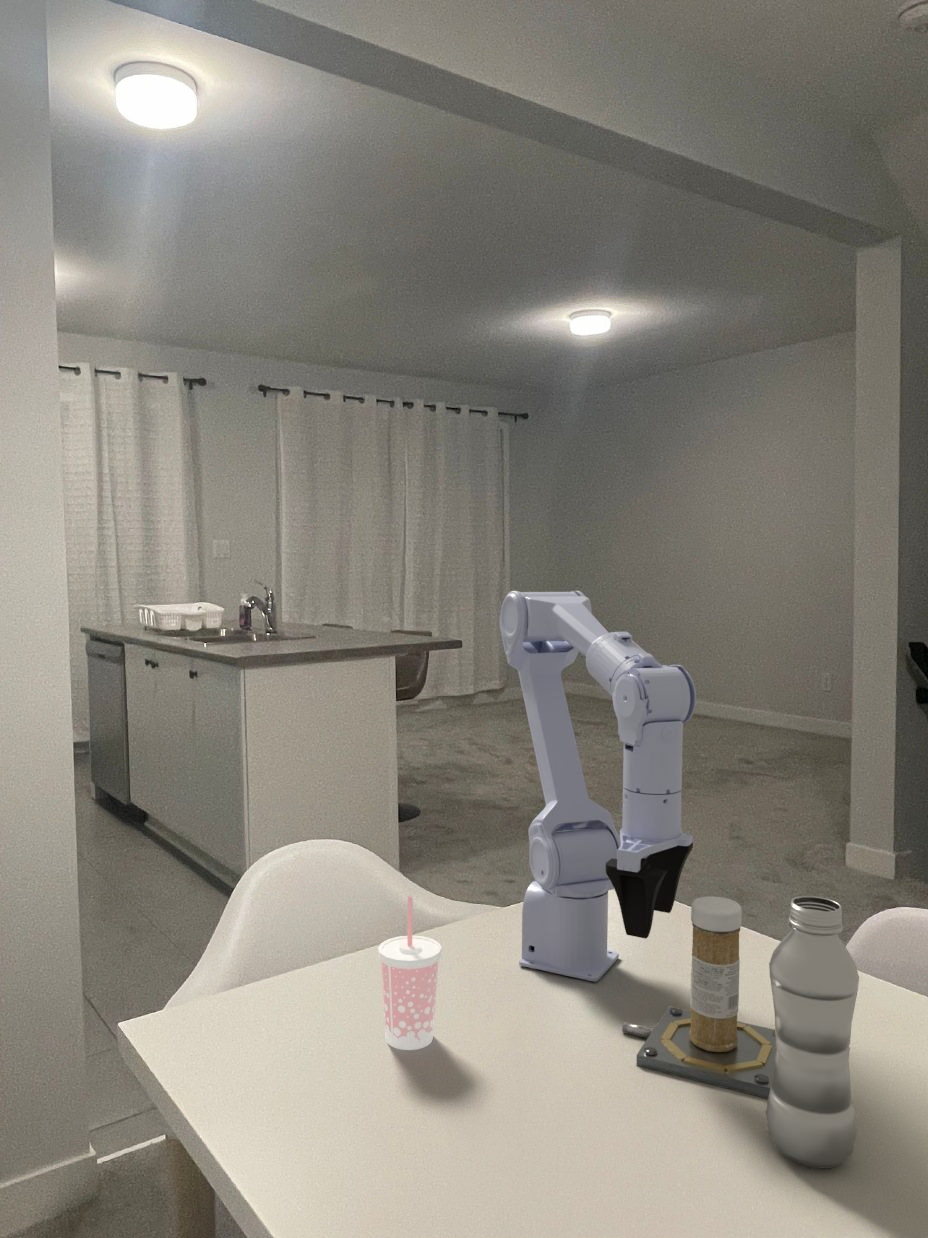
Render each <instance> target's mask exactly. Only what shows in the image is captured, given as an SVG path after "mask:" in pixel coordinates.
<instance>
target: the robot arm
mask: <svg viewBox="0 0 928 1238" xmlns="http://www.w3.org/2000/svg"><path fill="white" fill-rule="evenodd" d="M591 603H592V602H591V600H590V598H589V597H587V596H585V594H584V593H583V592H582V591H581V590H571V591H523V592H522V591H519V590H511V591H509V592H508V593H507V595H506V596H505V598H504V599H503V601H502V604H501V609H500V614H499V615H500V616H499V630H500V635H501V640H502V645H503V649H504V653H505V656H506V661H507V665H508V666H510V667H512V668H514V669H515V670H517V673H518V678H519V681H520V688H521V692H522V697H523V701H524V705H525V706H524V707H525V711H526V717H527V721H528V726H529V730H530V735H531V740H532V743H533V744H532V745H533V749H534V750H533V751H534V754H535V759H536V760H535V761H536V764H537V769H538V773H539V779H540V783H541V788H542V793H543V797H544V802H545V807H544V808H543V809H542V810H541V811H540V812H539V814H538V815H536V817H535V818H534V819H533V820H532V822H531V823H530V825H529V827H528V841H529V853H528V858H529V859H528V860H529V867H530V870H531V874H532V876H533V878H534V881H532V882H531V883H530V884H529V886H528V887H527V889H526V891H525V895H524V898H523V903H522V913H521V914H522V915H521V917H522V918H521V959H520V960H519V962H518V965H519V966H522V967H527V968H530V969H535V970H540V971H543V972H548V973H553V974H556V975H557V974H558V975H563V976H567V977H572V978H576V979H581V980H585V981H589V982H598V981H599V980H600V979H601V978H602V977H603V975H605V973H606V972H607V971H608V970H609V969H610V968H611V966H612V965H614V963H615V962H616V961H617V960H618V958H619V955H620V954H619V952H616V951H613V950H612V951H611V950H608V928H609V926H608V925H609V921H608V920H609V919H608V918H609V917H608V915H609V891H611V890H614V891H615V894H616V896H617V900H618V904H619V909H620V912H621V916H622V921H623V926H624V930H625V935H626V936H631V937H635V938H642V939H648V938H649V936H650V933H651V930H652V926H653V920H654V915H655V913H654V912H655V911H656V912H660V913H667V914H670V913H671V912H672V909H673V907H674V904H675V899H676V895H677V890H678V886H679V882H680V877H681V874H682V872H683V869H684V865H685V864H686V862H687V861H686V860H687V859H688V857H689V855H690V853H691V852H692V850H693V848H694V843H693V840H694V839H693V838H694V837H693V835H692V834H688V833H684V832H683V830H682V792H683V791H682V789H683V788H682V785H683V783H682V782H683V746H684V745H683V742H684V741H683V739H684V737H683V735H684V734H683V733H684V724H685V723H687V722H688V721H690V720H691V718H692V717H693V715H694V713H695V709H696V706H697V705H696V704H697V691H696V687H695V683H694V680H693V677H692V676H691V674H690V673H689V672H688V671H687V670H686V668H685V667H684V666H683V665H681V664H670V665H666V664H661V663H660V662H658V661H657V659H655V657H654V655H652V654H651V653H649V652H648V651H645V650H644V648H642V647H641V646H640V645H638V644H637V642H635V641H634V640H633V635H632V634H630V632H628V631H611V632H608V630H607V629H606V628H605V627H604V626H603V625H602V623H601V622H600V621H599V620H598V619H597V618H596V617H595V616H594V615H593V614H592V613H593V611H592V604H591ZM579 653H580V654H582V655H583V656H585V657H586V658H585V666H586V670H587V672H588V673H589V675H590V676H591V677H592V678H593V679H594V680H595V681H596V682H597V683H598V684H599V685H600V686H601V687H602V688H604V690H605V691H606V692H607V693H608V694H609V695H610V696H612V706H613V710H614V713H615V716H616V719H617V725H618V726H617V727H618V728H617V735H618V736H619V741H620V742H623V757H622V758H623V759H622V761H623V765H622V766H623V767H622V815H621V816H622V817H621V818H622V821H621V826H622V827H621V828H620V829H619V833H618V831H617V829H616V827H615V823H614V820H613V816H612V813H611V812H610V811H608V809H606V808H604V807H603V806H602V805H599V804H598V803H597V802H595V801H593V800H592V799H591V798H590V797H589V794H588V793H589V792H588V789H587V786H586V785H587V784H586V781H585V775H584V772H583V767H582V762H581V759H580V754H579V751H578V750H579V749H578V745H577V741H576V736H575V732H574V728H573V723H572V719H571V714H570V711H569V705H568V701H567V697H566V693H565V688H564V684H563V680H562V671H563V669H565V668H567V667H568V666H571V665H572V664H573V663H574V662H575V660H576V659H577V656H578V654H579Z"/></svg>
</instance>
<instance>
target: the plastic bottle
mask: <svg viewBox="0 0 928 1238" xmlns="http://www.w3.org/2000/svg"><path fill="white" fill-rule="evenodd" d="M842 916H843V907H842V905H841V904H840V903H839V902H837V901H835V900H834V899H830V898H826V897H821V896H815V895H800V896H795V897H793V898H792V899H791V902H790V914H789V916H788V925H789V927H790V928H791V931H789V933H788V934H787V935H786V936H785V937H784V938H783V939H782V940H781V941H780V942H779V944H778V945H776V947H775V949H774V950H773V952H772V954H771V957H770V960H769V963H768V965H769V967H768V969H769V978H770V986H771V995H772V1001H773V1009H774V1030H775V1031H776V1035H775V1039H776V1050H775V1060H774V1069H773V1078H772V1085H771V1088H770V1092H769V1096H768V1099H767V1103H766V1109H765V1118H766V1123H767V1124H766V1125H767V1132H768V1135H769V1137H770V1140H771V1141H772V1143H773V1145H774V1146H775V1147H776V1149H777V1150H778V1151H779V1152H780V1154H782V1155H783V1156H785V1157H786V1158H787V1159H789V1160H791V1161H794V1162H796V1163H798V1164H800V1165H804V1166H807V1167H810V1168H811V1167H813V1168H820V1169H827V1168H830V1169H831V1168H835V1167H838V1166H841V1165H842V1164H844V1162H846V1160H848V1159H849V1158H850V1156H851V1155H852V1154H853V1151H854V1148H855V1144H856V1139H857V1134H858V1133H857V1132H858V1129H857V1121H856V1113H855V1108H854V1104H853V1100H852V1087H851V1086H852V1085H851V1073H850V1049H851V1047H850V1045H851V1036H852V1023H853V1018H854V1012H855V1009H856V1008H855V1007H856V1002H857V998H858V997H857V996H858V990H859V983H860V976H859V972H858V968H857V964H856V963H855V960H854V958H853V957H852V955H851V954H850V952H849V950H848V948H847V947H846V946H845V944H844V943H843V941H842V940H841V939H840V937H839V934H841V933H843V930H844V928H843V925H844V924H843V922H842V919H843V917H842Z"/></svg>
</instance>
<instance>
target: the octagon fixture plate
mask: <svg viewBox="0 0 928 1238" xmlns="http://www.w3.org/2000/svg"><path fill="white" fill-rule="evenodd" d="M621 1030H622V1031H621V1032H622V1033H624V1034H628V1035H632V1036H635V1037H636V1036H637V1037H640V1038H645V1039H646V1040H645V1041H644V1043H643V1044H642V1046H641V1047H640V1049H639V1050H638V1052H637V1053H636V1066H638V1067H642V1068H646V1069H650V1070H653V1071H656V1072H662V1073H665V1074H670V1075H673V1076H676V1077H681V1078H685V1079H689V1080H693V1081H697V1082H701V1083H705V1084H709V1085H713V1086H715V1087H716V1086H717V1087H721V1088H725V1089H728V1090H731V1091H732V1090H733V1091H736V1092H740V1093H744V1094H748V1095H752V1096H756V1097H759V1098H763V1099H766V1100H768V1096H769V1092H770V1088H771V1085H772V1078H773V1069H774V1060H775V1050H776V1039H775V1035H776V1031H775V1028H770V1027H765V1026H760V1025H755V1024H751V1023H747V1022H741V1021H738V1020H737V1037H738V1044H737V1046H736V1047H735V1048H734V1049H732V1050H730V1051H727V1052H712V1051H707V1050H704V1049H702V1048H700V1047H698V1046H696V1045H695V1044H694V1043H692V1041H691V1040H690V1038H689V1032H690V1030H691V1010H688V1009H683V1008H679V1007H674V1006H670V1005H669V1006H668V1007H667V1008H666V1010H665V1012H664V1013H663V1015H661V1018H660V1019H659V1020H658V1022H657V1024H656V1025H655V1027H653V1028H652V1027H649V1026H645V1025H640V1024H636V1023H632V1022H627V1021H624V1022H623V1023H622V1029H621Z"/></svg>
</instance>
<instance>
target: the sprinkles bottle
mask: <svg viewBox="0 0 928 1238" xmlns="http://www.w3.org/2000/svg"><path fill="white" fill-rule="evenodd" d="M690 910H691V911H690V912H691V913H690V916H691V917H690V920H691V924H692V947H691V948H692V950H691V952H692V953H691V973H690V995H689V996H690V1001H689V1003H690V1004H689V1005H690V1011H691V1030H690V1032H689V1038H690V1040H691V1041H692V1043H694V1044H695V1045H696V1046H698V1047H700V1048H702V1049H704V1050H707V1051H712V1052H727V1051H730V1050H732V1049H734V1048H735V1047H736V1046H737V1044H738V1037H737V1021H738V1013H739V1001H740V1000H739V995H740V994H739V993H740V992H739V991H740V964H741V963H740V961H741V960H740V931H741V927H742V919H743V918H742V915H743V914H742V906H741V905H740V904H739V903H738V902H737V901H735V900H732V899H730V898H726V897H722V896H721V897H720V896H714V895H713V896H701V897H697V898H695V899H694V900H693V901H692V903H691V909H690Z"/></svg>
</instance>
